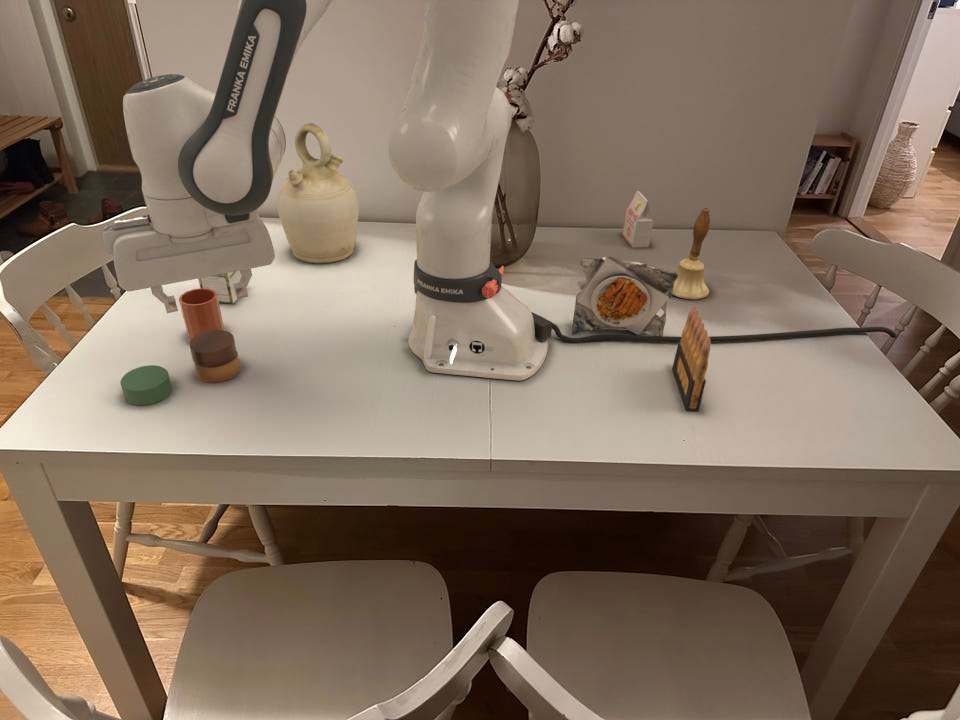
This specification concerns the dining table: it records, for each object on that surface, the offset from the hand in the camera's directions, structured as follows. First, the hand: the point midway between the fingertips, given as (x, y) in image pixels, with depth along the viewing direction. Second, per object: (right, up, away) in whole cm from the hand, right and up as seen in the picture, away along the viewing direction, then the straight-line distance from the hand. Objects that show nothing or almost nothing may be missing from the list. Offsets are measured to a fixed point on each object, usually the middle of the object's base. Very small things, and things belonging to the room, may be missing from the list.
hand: (207, 303), depth 97 cm
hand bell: (+77, +5, +33) cm, 84 cm away
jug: (+7, +14, +42) cm, 45 cm away
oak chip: (-1, -10, +6) cm, 12 cm away
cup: (-6, -4, +15) cm, 16 cm away
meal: (+61, -4, +19) cm, 64 cm away
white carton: (+72, +17, +51) cm, 90 cm away
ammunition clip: (+69, -12, +6) cm, 70 cm away
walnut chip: (-1, -7, +5) cm, 9 cm away
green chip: (-9, -13, +1) cm, 16 cm away
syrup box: (-7, +3, +25) cm, 27 cm away
